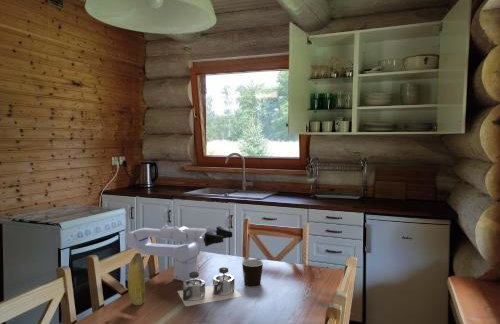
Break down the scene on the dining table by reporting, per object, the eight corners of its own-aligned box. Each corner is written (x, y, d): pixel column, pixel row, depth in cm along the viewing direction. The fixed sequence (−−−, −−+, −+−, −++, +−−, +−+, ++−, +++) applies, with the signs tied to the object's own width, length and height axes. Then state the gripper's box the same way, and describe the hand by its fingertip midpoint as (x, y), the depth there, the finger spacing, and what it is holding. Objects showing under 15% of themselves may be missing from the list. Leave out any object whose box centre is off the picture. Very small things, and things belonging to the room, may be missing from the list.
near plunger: (185, 286, 144) (185, 274, 144) (192, 281, 148) (192, 270, 148) (195, 288, 142) (195, 276, 142) (202, 283, 146) (202, 272, 146)
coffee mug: (260, 291, 153) (261, 267, 152) (240, 289, 155) (240, 265, 154) (265, 280, 164) (265, 257, 163) (246, 278, 166) (246, 256, 165)
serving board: (185, 308, 137) (185, 306, 137) (177, 293, 150) (177, 291, 150) (241, 298, 146) (241, 296, 146) (229, 284, 159) (229, 282, 159)
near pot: (174, 301, 142) (174, 287, 141) (191, 290, 151) (190, 276, 151) (193, 305, 138) (193, 291, 138) (209, 294, 148) (209, 280, 147)
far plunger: (215, 281, 149) (215, 270, 149) (221, 276, 153) (221, 266, 153) (226, 283, 147) (226, 272, 147) (231, 279, 151) (231, 268, 151)
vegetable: (134, 311, 135) (132, 256, 134) (124, 306, 140) (123, 253, 138) (148, 305, 140) (147, 252, 138) (138, 300, 144) (137, 249, 142)
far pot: (205, 295, 146) (205, 282, 146) (219, 285, 156) (219, 272, 156) (225, 299, 143) (225, 285, 142) (237, 289, 153) (237, 275, 152)
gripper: (188, 230, 153) (217, 231, 147) (207, 221, 166) (235, 223, 160) (189, 247, 153) (219, 249, 147) (208, 237, 166) (236, 239, 160)
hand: (227, 236), depth 154 cm, fingers open, 7 cm apart
